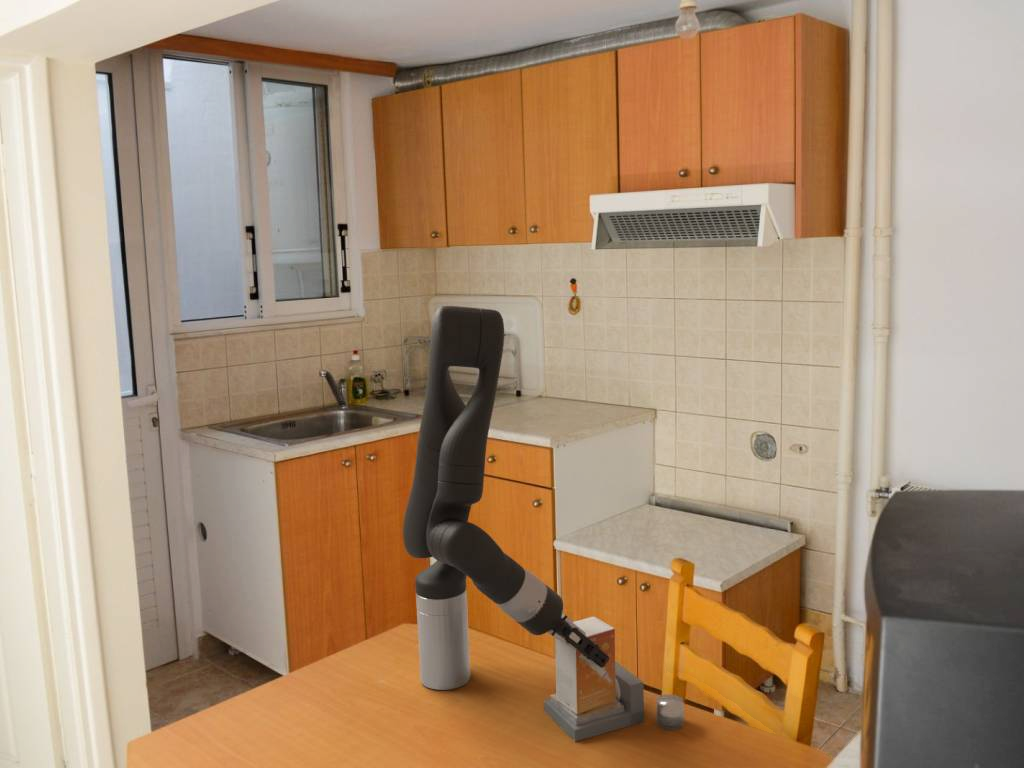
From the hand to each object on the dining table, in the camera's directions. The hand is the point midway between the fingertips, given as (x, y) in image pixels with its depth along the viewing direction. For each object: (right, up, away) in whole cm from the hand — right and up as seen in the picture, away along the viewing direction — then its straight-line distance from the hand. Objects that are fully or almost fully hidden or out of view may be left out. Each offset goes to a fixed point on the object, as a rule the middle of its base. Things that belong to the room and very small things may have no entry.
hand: (592, 652), depth 157 cm
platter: (-1, -9, +1) cm, 9 cm away
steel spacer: (+13, -11, -1) cm, 17 cm away
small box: (-1, -9, 0) cm, 9 cm away
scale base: (0, -11, +2) cm, 11 cm away
